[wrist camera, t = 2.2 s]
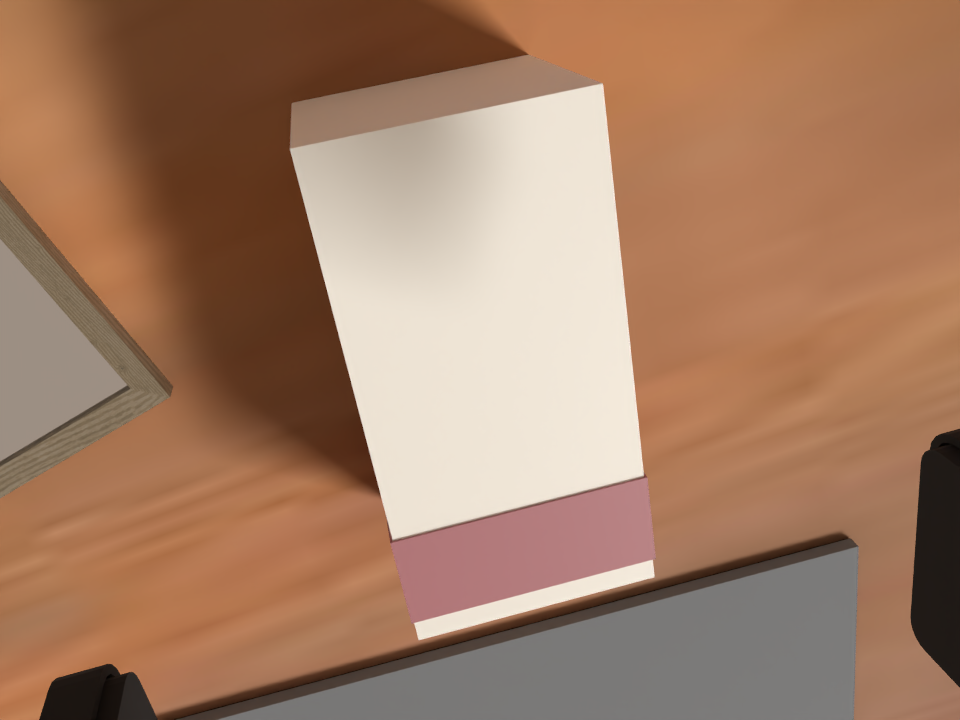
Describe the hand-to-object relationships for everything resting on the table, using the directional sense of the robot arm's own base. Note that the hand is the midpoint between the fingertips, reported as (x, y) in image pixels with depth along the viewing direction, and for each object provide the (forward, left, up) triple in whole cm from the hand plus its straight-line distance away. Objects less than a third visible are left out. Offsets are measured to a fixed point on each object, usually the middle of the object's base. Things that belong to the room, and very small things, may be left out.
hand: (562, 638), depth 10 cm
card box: (-1, 0, -11) cm, 11 cm away
